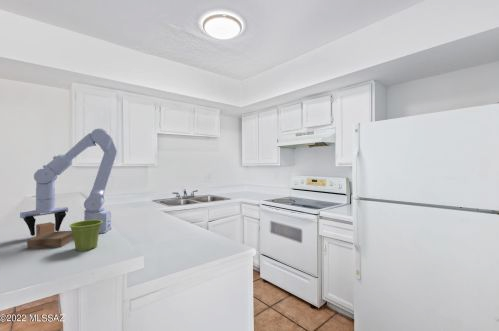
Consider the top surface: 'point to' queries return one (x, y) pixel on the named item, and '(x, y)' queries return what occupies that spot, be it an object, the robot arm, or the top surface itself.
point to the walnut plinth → (50, 239)
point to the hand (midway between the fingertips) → (45, 232)
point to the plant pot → (85, 234)
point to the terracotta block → (45, 228)
